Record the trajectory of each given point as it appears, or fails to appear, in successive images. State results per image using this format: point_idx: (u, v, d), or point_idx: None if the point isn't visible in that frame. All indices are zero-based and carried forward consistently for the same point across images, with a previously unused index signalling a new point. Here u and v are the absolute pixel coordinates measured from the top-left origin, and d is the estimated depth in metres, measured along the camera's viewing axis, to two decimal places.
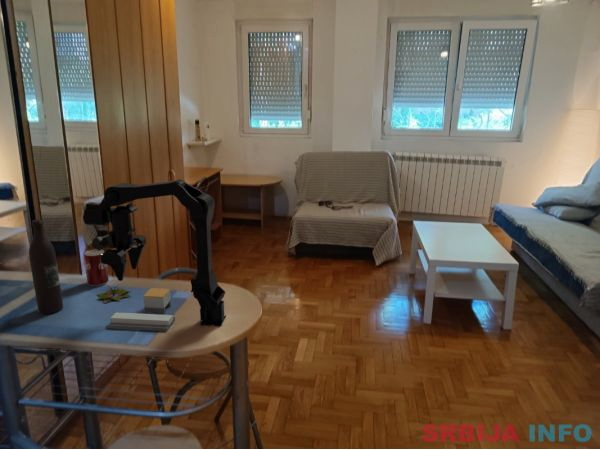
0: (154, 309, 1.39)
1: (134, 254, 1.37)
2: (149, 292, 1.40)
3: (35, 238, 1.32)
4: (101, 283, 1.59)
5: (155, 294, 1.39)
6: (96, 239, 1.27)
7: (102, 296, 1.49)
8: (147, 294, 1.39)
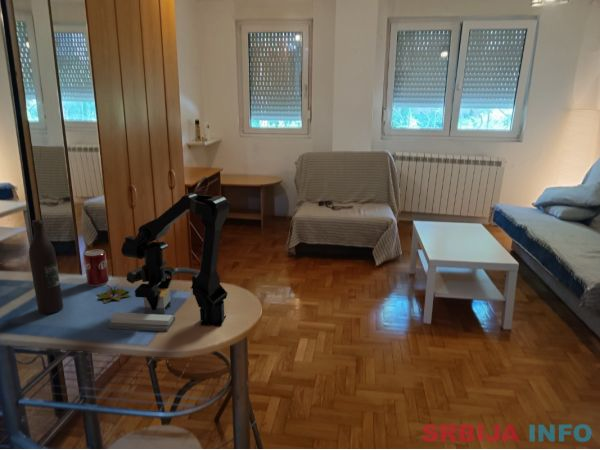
0: None
1: (162, 287, 1.44)
2: None
3: (35, 238, 1.32)
4: (101, 283, 1.59)
5: None
6: (130, 273, 1.35)
7: (102, 296, 1.49)
8: None
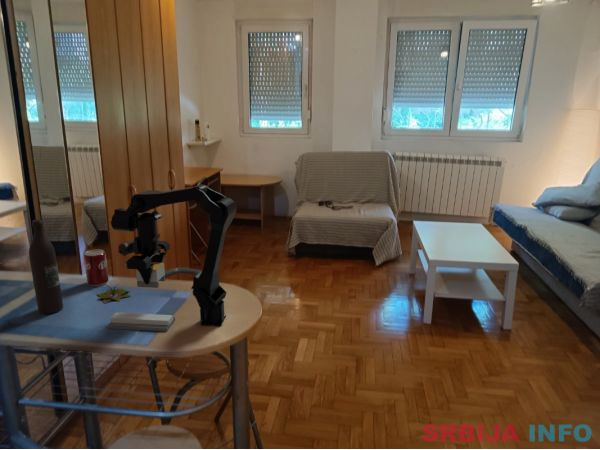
0: None
1: (156, 261, 1.38)
2: None
3: (35, 238, 1.32)
4: (101, 283, 1.59)
5: None
6: (122, 245, 1.29)
7: (102, 296, 1.49)
8: None
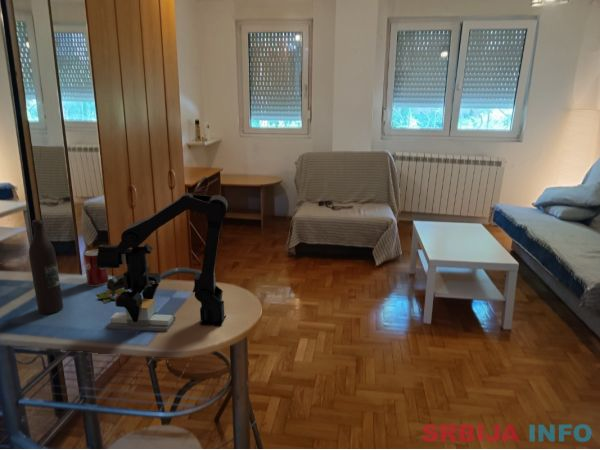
0: (138, 321, 1.29)
1: (148, 293, 1.35)
2: None
3: (35, 238, 1.32)
4: (101, 283, 1.59)
5: None
6: (111, 281, 1.25)
7: (102, 296, 1.49)
8: None
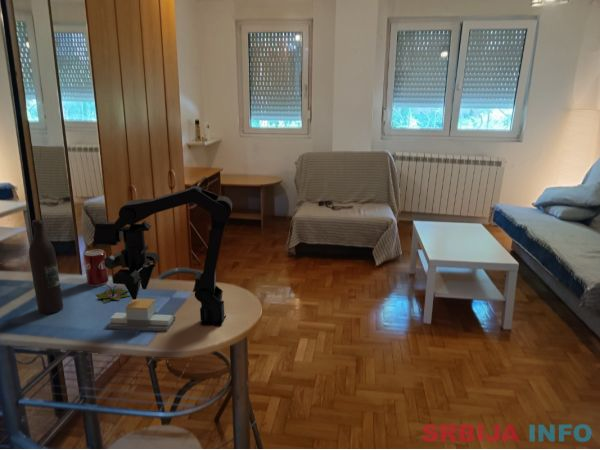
0: (138, 321, 1.29)
1: (145, 274, 1.32)
2: (132, 303, 1.31)
3: (35, 238, 1.32)
4: (101, 283, 1.59)
5: (138, 305, 1.29)
6: (108, 258, 1.23)
7: (101, 296, 1.49)
8: (130, 305, 1.29)
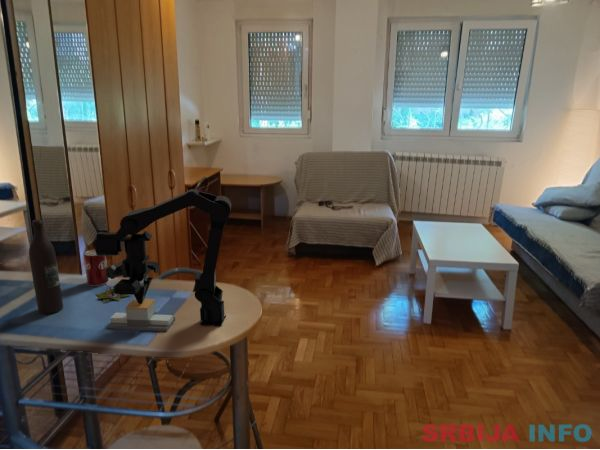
0: (138, 321, 1.29)
1: None
2: (132, 303, 1.31)
3: (35, 238, 1.32)
4: (101, 283, 1.59)
5: (138, 305, 1.29)
6: (110, 268, 1.24)
7: (101, 296, 1.50)
8: (130, 305, 1.29)
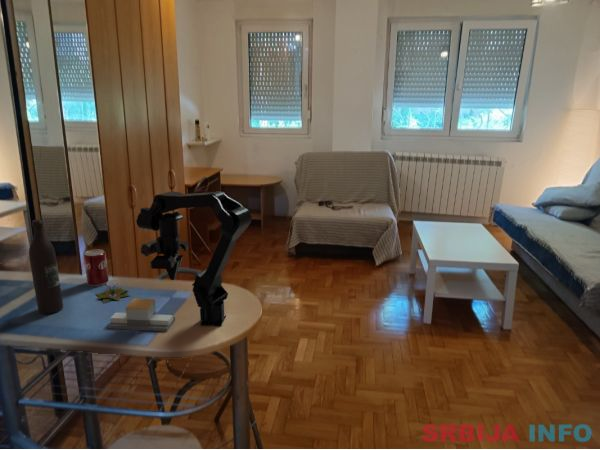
0: (138, 321, 1.29)
1: None
2: (132, 303, 1.31)
3: (35, 238, 1.32)
4: (101, 283, 1.59)
5: (138, 305, 1.29)
6: (145, 245, 1.31)
7: (101, 296, 1.50)
8: (130, 305, 1.29)
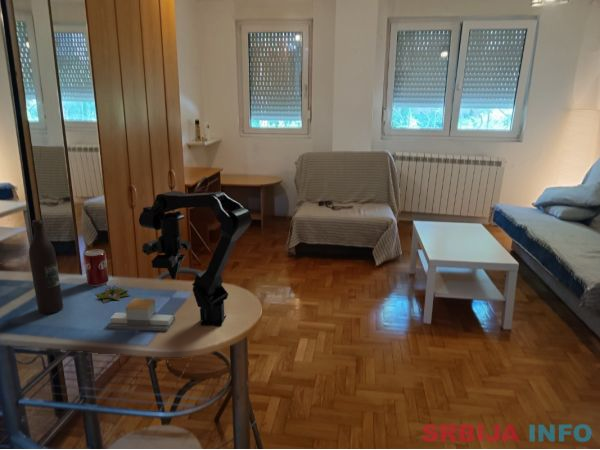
0: (138, 321, 1.29)
1: None
2: (132, 303, 1.31)
3: (35, 238, 1.32)
4: (101, 283, 1.59)
5: (138, 305, 1.29)
6: (147, 244, 1.32)
7: (101, 296, 1.50)
8: (130, 305, 1.29)
